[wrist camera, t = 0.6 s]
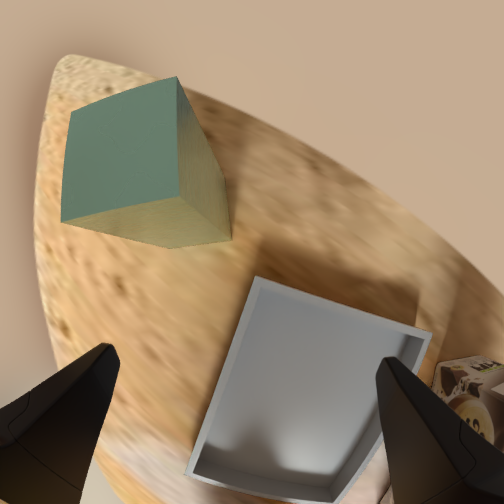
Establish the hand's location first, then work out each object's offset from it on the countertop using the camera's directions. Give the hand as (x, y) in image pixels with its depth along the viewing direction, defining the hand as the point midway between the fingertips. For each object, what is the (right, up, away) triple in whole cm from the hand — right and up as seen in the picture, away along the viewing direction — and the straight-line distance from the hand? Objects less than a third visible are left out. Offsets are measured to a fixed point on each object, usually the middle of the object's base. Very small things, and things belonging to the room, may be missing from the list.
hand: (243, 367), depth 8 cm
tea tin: (-4, +7, +14) cm, 16 cm away
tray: (+4, -9, +12) cm, 16 cm away
